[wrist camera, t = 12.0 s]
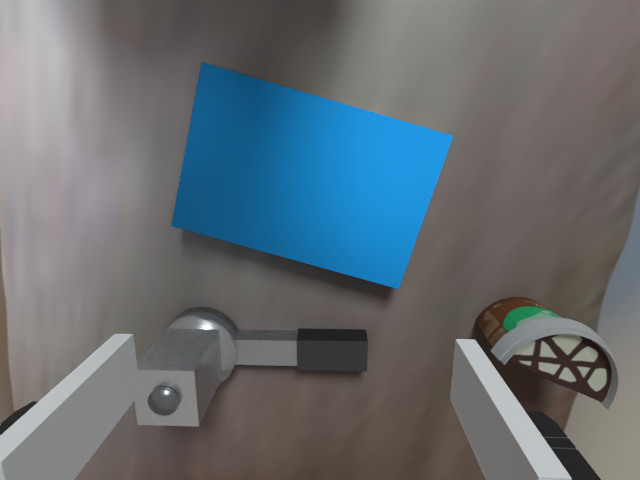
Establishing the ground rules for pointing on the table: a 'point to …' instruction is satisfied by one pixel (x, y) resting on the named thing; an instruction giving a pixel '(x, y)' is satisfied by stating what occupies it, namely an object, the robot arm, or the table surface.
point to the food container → (551, 347)
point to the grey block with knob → (179, 377)
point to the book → (306, 176)
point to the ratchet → (280, 344)
